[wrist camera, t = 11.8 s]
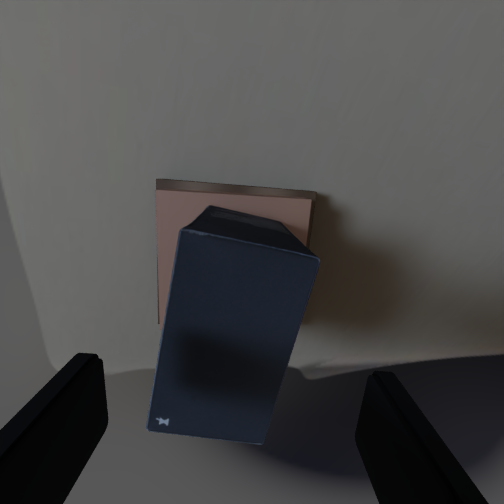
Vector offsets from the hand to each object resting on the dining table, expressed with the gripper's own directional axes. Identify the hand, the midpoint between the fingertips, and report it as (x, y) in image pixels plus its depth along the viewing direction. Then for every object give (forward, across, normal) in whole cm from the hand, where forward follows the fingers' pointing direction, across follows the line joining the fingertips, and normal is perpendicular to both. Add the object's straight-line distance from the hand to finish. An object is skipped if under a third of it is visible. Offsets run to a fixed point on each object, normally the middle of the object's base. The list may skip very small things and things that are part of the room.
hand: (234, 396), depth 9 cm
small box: (+13, +1, 0) cm, 13 cm away
